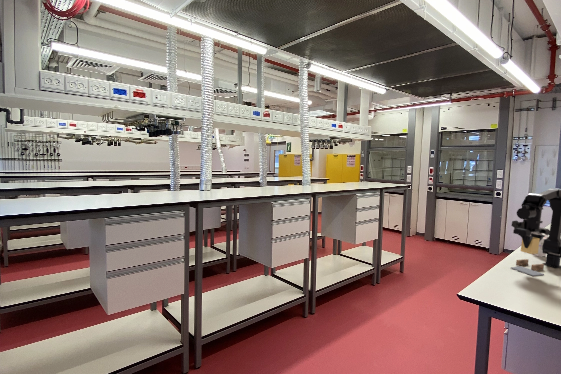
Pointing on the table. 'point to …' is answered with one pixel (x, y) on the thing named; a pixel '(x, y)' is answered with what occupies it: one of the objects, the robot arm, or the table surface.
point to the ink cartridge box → (540, 251)
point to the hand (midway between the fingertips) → (529, 247)
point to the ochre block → (531, 246)
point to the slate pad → (527, 271)
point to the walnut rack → (533, 267)
